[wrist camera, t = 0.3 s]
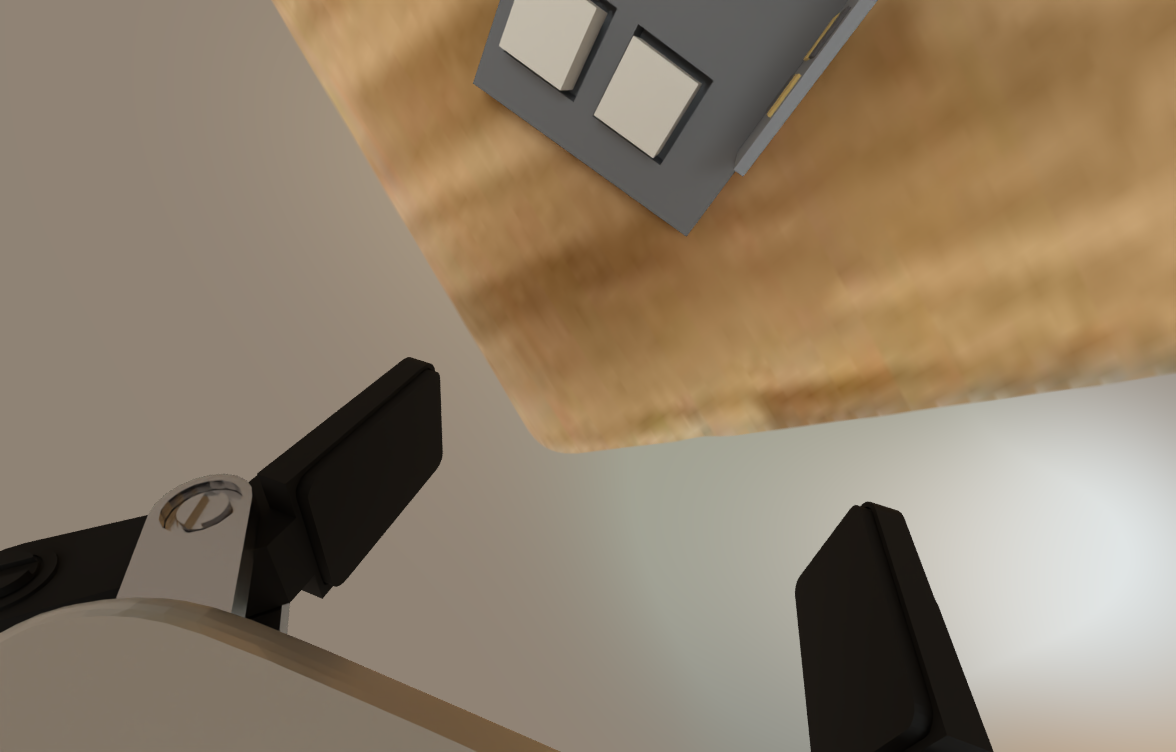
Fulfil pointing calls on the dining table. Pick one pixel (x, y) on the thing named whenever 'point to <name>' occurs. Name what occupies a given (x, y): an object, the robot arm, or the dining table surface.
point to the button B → (553, 37)
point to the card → (802, 80)
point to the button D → (646, 97)
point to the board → (715, 115)
